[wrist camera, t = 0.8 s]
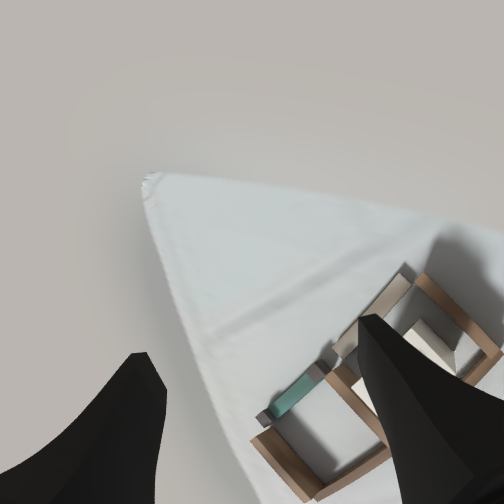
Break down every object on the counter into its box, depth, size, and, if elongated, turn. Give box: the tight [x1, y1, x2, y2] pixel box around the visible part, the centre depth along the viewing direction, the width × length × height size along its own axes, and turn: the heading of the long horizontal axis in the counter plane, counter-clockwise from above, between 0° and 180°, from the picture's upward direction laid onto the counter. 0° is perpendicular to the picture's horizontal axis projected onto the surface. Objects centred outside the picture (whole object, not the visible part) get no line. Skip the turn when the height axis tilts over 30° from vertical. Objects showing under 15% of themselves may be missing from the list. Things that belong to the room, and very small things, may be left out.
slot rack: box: [250, 272, 504, 503], centre depth 19 cm, size 9×18×2 cm, turn 135°
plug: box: [351, 319, 456, 415], centre depth 16 cm, size 4×4×7 cm
